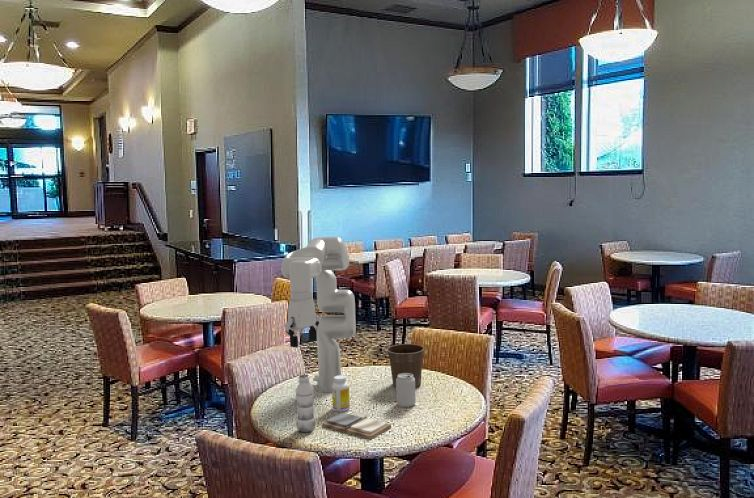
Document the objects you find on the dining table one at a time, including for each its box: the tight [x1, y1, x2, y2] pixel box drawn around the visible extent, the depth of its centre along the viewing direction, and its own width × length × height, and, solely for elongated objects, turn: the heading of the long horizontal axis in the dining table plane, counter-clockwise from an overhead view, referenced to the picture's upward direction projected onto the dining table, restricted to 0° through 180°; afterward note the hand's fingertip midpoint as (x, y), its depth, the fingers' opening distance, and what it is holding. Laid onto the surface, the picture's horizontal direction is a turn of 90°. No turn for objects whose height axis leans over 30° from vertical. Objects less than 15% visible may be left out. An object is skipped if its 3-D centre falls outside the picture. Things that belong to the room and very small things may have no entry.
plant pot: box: [386, 343, 425, 389], centre depth 266 cm, size 16×16×16 cm
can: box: [395, 373, 417, 408], centre depth 242 cm, size 8×8×12 cm
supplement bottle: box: [331, 374, 351, 413], centre depth 240 cm, size 7×7×13 cm
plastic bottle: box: [295, 374, 316, 433], centre depth 219 cm, size 6×7×20 cm
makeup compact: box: [321, 411, 392, 440], centre depth 222 cm, size 22×12×2 cm, turn 54°
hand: (303, 343), depth 217 cm, fingers open, 9 cm apart
